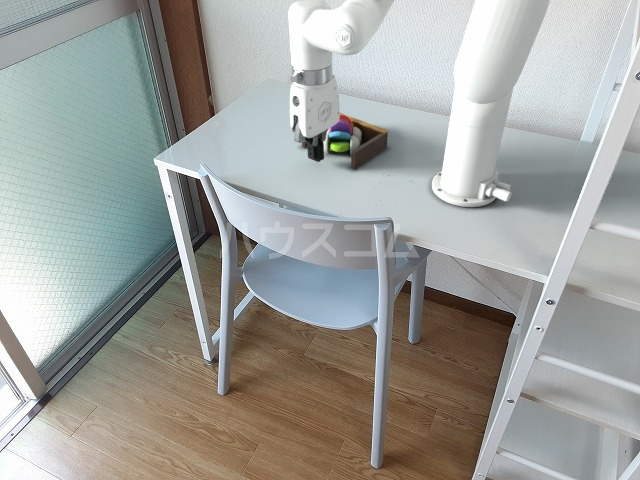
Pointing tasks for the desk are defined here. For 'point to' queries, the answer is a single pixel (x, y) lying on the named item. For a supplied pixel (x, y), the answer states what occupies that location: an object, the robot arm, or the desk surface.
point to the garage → (366, 142)
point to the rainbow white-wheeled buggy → (342, 136)
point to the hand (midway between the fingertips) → (316, 158)
